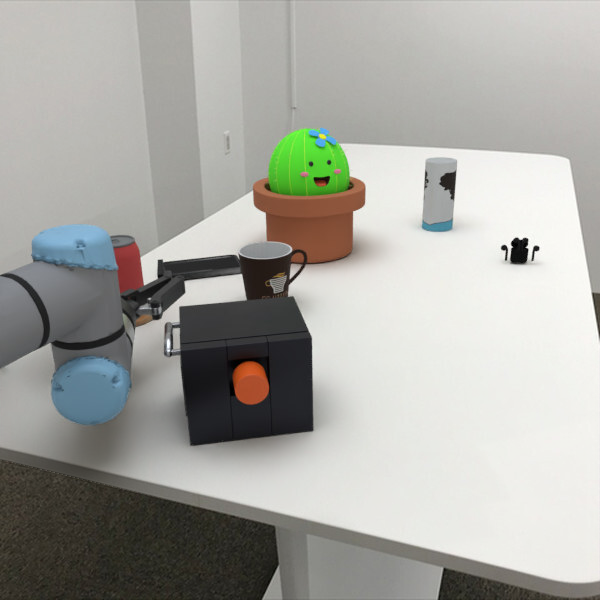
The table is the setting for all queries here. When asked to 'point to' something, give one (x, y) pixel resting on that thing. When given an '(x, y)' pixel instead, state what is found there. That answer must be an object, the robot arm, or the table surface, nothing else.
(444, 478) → the table surface
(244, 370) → the button
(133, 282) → the beer can
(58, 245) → the robot arm
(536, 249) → the wireless earbuds
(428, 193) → the white patterned cylinder
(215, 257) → the phone
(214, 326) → the black drawer box
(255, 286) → the coffee mug
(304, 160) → the potted cactus
